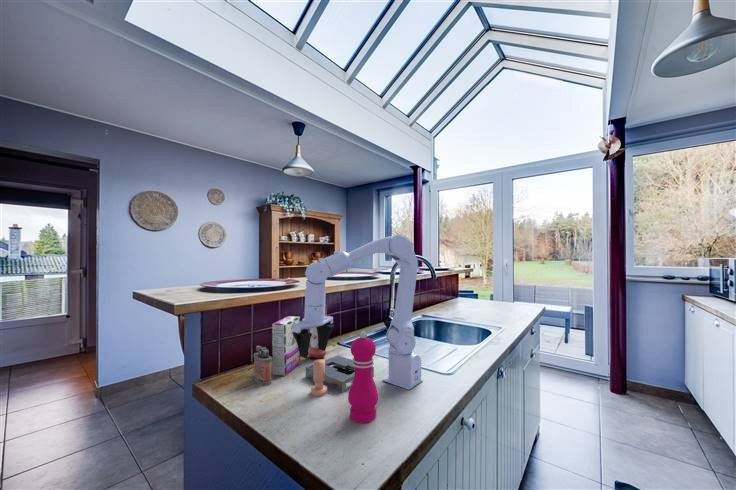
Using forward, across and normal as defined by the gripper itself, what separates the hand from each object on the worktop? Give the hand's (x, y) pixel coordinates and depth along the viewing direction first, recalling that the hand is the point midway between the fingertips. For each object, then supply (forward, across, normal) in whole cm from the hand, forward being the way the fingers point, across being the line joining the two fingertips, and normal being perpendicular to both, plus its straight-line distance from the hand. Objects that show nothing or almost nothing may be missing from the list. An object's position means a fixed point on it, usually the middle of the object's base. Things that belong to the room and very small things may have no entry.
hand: (313, 353), depth 84 cm
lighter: (+11, +3, -17) cm, 21 cm away
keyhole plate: (+10, -11, +1) cm, 15 cm away
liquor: (+10, -21, -17) cm, 29 cm away
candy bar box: (+11, -7, -18) cm, 22 cm away
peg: (+10, 0, +3) cm, 11 cm away
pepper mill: (+10, +3, +19) cm, 22 cm away
